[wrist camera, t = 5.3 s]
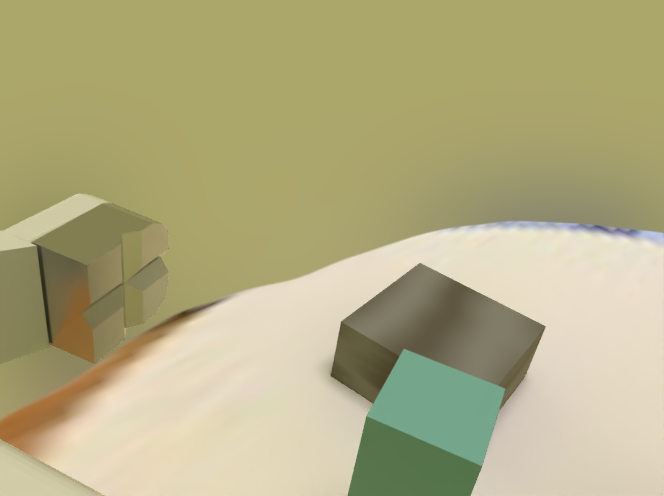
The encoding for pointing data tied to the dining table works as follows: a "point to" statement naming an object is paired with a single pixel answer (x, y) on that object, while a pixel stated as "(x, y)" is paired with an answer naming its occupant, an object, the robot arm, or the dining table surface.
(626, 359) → the dining table surface
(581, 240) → the dining table surface
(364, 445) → the teal pillar
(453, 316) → the charcoal block
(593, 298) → the dining table surface
